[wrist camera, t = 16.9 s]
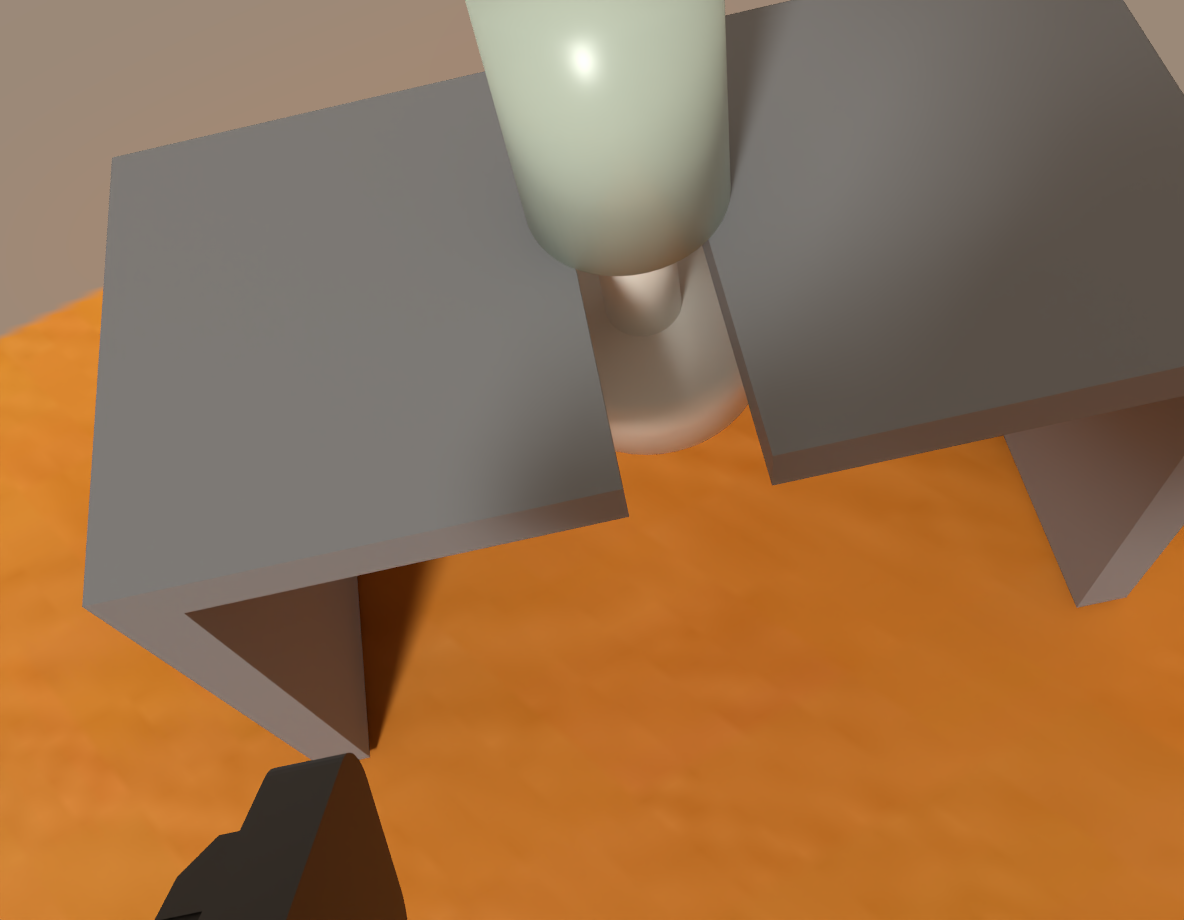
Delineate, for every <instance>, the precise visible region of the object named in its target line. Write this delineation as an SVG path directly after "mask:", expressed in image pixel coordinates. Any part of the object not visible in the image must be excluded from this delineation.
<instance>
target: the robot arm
mask: <svg viewBox="0 0 1184 920" xmlns="http://www.w3.org/2000/svg"><path fill="white" fill-rule="evenodd" d="M155 920H407V915H406V909H405V904H404V899H403V895H402V891H401V888H400V885H399V881H398V878H397V875H396V872H395V868H394V865H393V862H392V859H391V855H390V852H389V849H388V845H387V842H386V839H385V836H384V832H383V829H382V826H381V823H380V819H379V816H378V813H377V810H376V806H375V803H374V800H373V797H372V793H371V790H370V787H369V784H368V780H367V777H366V774H365V771H364V769H363V767H362V765H361V763H360V761H359V759H358V758H357V757H356V755H354V754H353V753H350V752H349V753H345V754H340V755H335V756H330V757H325V758H321V759H316V760H311V761H306V762H301V763H297V764H292V765H287V766H282V767H277V768H273V769H271V770H270V771H269V772H268V773H267V775H266V776H265V778H264V780H263V782H262V785H261V787H260V789H259V791H258V793H257V795H256V797H255V800H254V802H253V804H252V806H251V808H250V810H249V812H248V815H247V817H246V819H245V821H244V823H243V825H242V827H241V830H240V831H238V832H233V833H228V834H223V835H219V836H218V837H217V838H216V839H215V840H214V841H213V842H212V843H211V844H210V845H209V846H208V847H207V848H206V849H205V850H204V851H203V852H202V853H201V854H200V855H199V856H198V857H197V858H196V859H195V860H194V861H193V862H192V863H191V864H190V865H189V866H188V867H187V868H186V869H185V870H184V871H183V872H182V873H181V874H180V875H179V876H178V877H177V878H176V880H175V882H174V884H173V886H172V888H171V890H170V892H169V894H168V895H167V897H166V899H165V901H164V903H163V905H162V907H161V909H160V911H159V913H158V914H157V916H156V918H155Z"/></svg>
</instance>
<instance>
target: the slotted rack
mask: <svg viewBox="0 0 1184 920" xmlns="http://www.w3.org/2000/svg"><path fill="white" fill-rule="evenodd" d="M725 28H726V59H727V90H728V121H729V151H730V182H731V192H730V201H729V204H728V208H727V211H726V213H725V216H724V218H723V220H722V222H721V223H720V225H719V226H718V228H717V230H716V231H715V232H714V233H713V235H712V236H711V237H710V238H709V239H708V240H707V241H706V242H705V243H704V244H703V245H702V247H703V250H704V254H705V257H706V261H707V264H708V267H709V271H710V274H711V278H712V281H713V284H714V288H715V291H716V295H717V298H718V302H719V305H720V308H721V312H722V315H723V319H724V322H725V325H726V329H727V332H728V336H729V339H730V343H731V346H732V349H733V353H734V356H735V360H736V363H737V367H738V370H739V373H740V377H741V380H742V384H743V387H744V390H745V394H746V397H747V401H748V404H749V408H750V411H751V414H752V418H753V421H754V425H755V428H756V431H757V435H758V438H759V442H760V445H761V449H762V452H763V455H764V459H765V462H766V466H767V469H768V473H769V476H770V479H771V483H772V485H777V484H781V483H786V482H790V481H795V480H800V479H804V478H809V477H813V476H818V475H823V474H827V473H832V472H836V471H841V470H846V469H850V468H855V467H859V466H864V465H869V464H873V463H878V462H882V461H887V460H892V459H896V458H901V457H905V456H910V455H915V454H919V453H924V452H928V451H933V450H938V449H942V448H947V447H951V446H956V445H961V444H965V443H970V442H974V441H979V440H984V439H988V438H993V437H997V436H1002V435H1004V437H1005V440H1006V442H1007V445H1008V447H1009V449H1010V452H1011V454H1012V456H1013V459H1014V461H1015V463H1016V466H1017V468H1018V470H1019V473H1020V475H1021V477H1022V480H1023V482H1024V485H1025V487H1026V489H1027V492H1028V494H1029V496H1030V499H1031V501H1032V503H1033V506H1034V508H1035V510H1036V513H1037V515H1038V517H1039V520H1040V522H1041V524H1042V527H1043V529H1044V532H1045V534H1046V536H1047V539H1048V541H1049V543H1050V546H1051V548H1052V550H1053V553H1054V555H1055V557H1056V560H1057V562H1058V564H1059V567H1060V569H1061V571H1062V574H1063V576H1064V579H1065V581H1066V583H1067V586H1068V588H1069V590H1070V593H1071V595H1072V597H1073V600H1074V602H1075V604H1076V607H1082V606H1087V605H1091V604H1096V603H1101V602H1106V601H1110V600H1115V599H1120V598H1124V597H1127V595H1128V594H1129V593H1130V592H1131V590H1132V589H1133V588H1134V587H1135V585H1136V584H1137V583H1138V582H1139V580H1140V579H1141V578H1142V577H1143V575H1144V574H1145V573H1146V572H1147V570H1148V569H1149V568H1150V567H1151V565H1152V564H1153V563H1154V562H1155V560H1156V559H1157V558H1158V557H1159V555H1160V554H1161V553H1162V552H1163V550H1164V549H1165V548H1166V546H1167V545H1168V544H1169V543H1170V541H1171V540H1172V539H1173V538H1174V536H1175V535H1176V534H1177V533H1178V531H1179V530H1180V529H1181V528H1182V526H1183V525H1184V94H1183V93H1182V91H1181V90H1180V89H1179V87H1178V85H1177V84H1176V82H1175V80H1174V79H1173V77H1172V76H1171V74H1170V73H1169V71H1168V70H1167V68H1166V66H1165V65H1164V63H1163V62H1162V60H1161V59H1160V57H1159V56H1158V54H1157V52H1156V51H1155V49H1154V48H1153V46H1152V44H1151V43H1150V41H1149V40H1148V39H1147V37H1146V35H1145V34H1144V32H1143V30H1142V29H1141V27H1140V26H1139V24H1138V23H1137V21H1136V20H1135V18H1134V17H1133V15H1132V13H1131V12H1130V10H1129V9H1128V7H1127V5H1126V4H1125V2H1124V1H1123V0H791V1H787V2H783V3H778V4H774V5H769V6H765V7H761V8H756V9H752V10H748V11H743V12H740V13H735V14H730V15H726V16H725ZM625 517H629V514H628V509H627V504H626V499H625V495H624V490H623V485H622V481H621V476H620V471H619V467H618V462H617V457H616V453H615V448H614V443H613V439H612V434H611V429H610V425H609V420H608V415H607V411H606V406H605V401H604V396H603V392H602V387H601V382H600V378H599V373H598V368H597V364H596V359H595V354H594V350H593V345H592V340H591V336H590V331H589V326H588V322H587V317H586V312H585V308H584V303H583V298H582V294H581V289H580V284H579V279H578V275H577V270H576V269H574V268H571V267H569V266H567V265H565V264H563V263H561V262H559V261H557V260H556V259H555V258H553V257H552V256H550V255H549V254H548V253H547V252H546V251H545V250H544V249H543V248H542V247H541V246H540V245H539V244H538V243H537V241H536V240H535V238H534V237H533V235H532V233H531V231H530V229H529V227H528V224H527V221H526V217H525V214H524V210H523V207H522V203H521V199H520V196H519V192H518V189H517V185H516V181H515V178H514V174H513V170H512V167H511V163H510V160H509V156H508V152H507V149H506V145H505V142H504V138H503V134H502V131H501V127H500V124H499V120H498V116H497V113H496V109H495V106H494V102H493V98H492V95H491V91H490V88H489V84H488V80H487V77H486V73H485V72H481V73H476V74H472V75H467V76H463V77H459V78H455V79H450V80H446V81H441V82H438V83H433V84H429V85H424V86H420V87H416V88H412V89H407V90H403V91H399V92H394V93H390V94H386V95H381V96H377V97H372V98H368V99H364V100H359V101H355V102H351V103H347V104H342V105H338V106H334V107H329V108H325V109H321V110H316V111H312V112H308V113H304V114H299V115H295V116H291V117H287V118H282V119H278V120H274V121H269V122H265V123H260V124H256V125H252V126H247V127H243V128H239V129H234V130H230V131H226V132H222V133H217V134H213V135H209V136H204V137H200V138H196V139H191V140H187V141H183V142H178V143H174V144H170V145H166V146H161V147H157V148H153V149H148V150H144V151H139V152H135V153H131V154H127V155H122V156H118V157H114V158H112V169H111V183H110V198H109V213H108V228H107V244H106V259H105V275H104V289H103V304H102V319H101V334H100V349H99V364H98V379H97V394H96V409H95V424H94V440H93V455H92V470H91V485H90V500H89V515H88V530H87V545H86V560H85V575H84V590H83V605H82V607H83V608H85V609H86V610H88V611H89V612H91V613H92V614H94V615H95V616H97V617H98V618H100V619H101V620H103V621H104V622H106V623H107V624H109V625H110V626H112V627H113V628H115V629H116V630H118V631H119V632H121V633H122V634H124V635H125V636H127V637H128V638H130V639H131V640H133V641H134V642H136V643H137V644H139V645H140V646H142V647H143V648H145V649H146V650H148V651H149V652H151V653H152V654H154V655H155V656H157V657H158V658H160V659H161V660H163V661H164V662H166V663H167V664H169V665H170V666H172V667H173V668H175V669H176V670H178V671H179V672H181V673H182V674H184V675H185V676H187V677H188V678H190V679H191V680H193V681H194V682H196V683H197V684H199V685H200V686H202V687H203V688H205V689H206V690H208V691H209V692H211V693H212V694H214V695H215V696H217V697H218V698H220V699H221V700H223V701H224V702H226V703H227V704H229V705H230V706H232V707H233V708H235V709H236V710H238V711H239V712H241V713H242V714H244V715H245V716H247V717H248V718H250V719H251V720H253V721H254V722H256V723H257V724H259V725H260V726H262V727H263V728H265V729H266V730H268V731H269V732H271V733H272V734H274V735H275V736H277V737H278V738H280V739H281V740H283V741H284V742H286V743H287V744H289V745H290V746H292V747H293V748H295V749H296V750H298V751H299V752H301V753H302V754H304V755H305V756H307V757H308V758H310V759H311V760H316V759H321V758H325V757H330V756H335V755H340V754H345V753H349V752H350V753H353V754H354V755H356V757H357V758H358V759H359V760H360V759H364V758H369V757H370V750H369V736H368V722H367V708H366V694H365V680H364V665H363V651H362V637H361V623H360V609H359V595H358V581H357V576H358V575H363V574H367V573H372V572H376V571H381V570H386V569H390V568H395V567H399V566H404V565H409V564H413V563H418V562H422V561H427V560H432V559H436V558H441V557H445V556H450V555H455V554H459V553H464V552H468V551H473V550H478V549H482V548H487V547H491V546H496V545H501V544H505V543H510V542H514V541H519V540H524V539H528V538H533V537H537V536H542V535H547V534H551V533H556V532H560V531H565V530H570V529H574V528H579V527H583V526H588V525H593V524H597V523H602V522H606V521H611V520H616V519H620V518H625Z"/></svg>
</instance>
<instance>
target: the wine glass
mask: <svg viewBox="0 0 1184 920" xmlns="http://www.w3.org/2000/svg"><path fill="white" fill-rule="evenodd" d="M465 1H466V5H467V8H468V12H469V16H470V19H471V23H472V26H473V29H474V33H475V37H476V41H477V44H478V48H479V51H480V55H481V58H482V62H483V66H484V69H485V73H486V77H487V80H488V84H489V88H490V91H491V95H492V98H493V102H494V106H495V109H496V113H497V116H498V120H499V124H500V127H501V131H502V134H503V138H504V142H505V145H506V149H507V152H508V156H509V160H510V163H511V167H512V170H513V174H514V178H515V181H516V185H517V189H518V192H519V196H520V199H521V203H522V207H523V210H524V214H525V217H526V221H527V224H528V227H529V229H530V231H531V233H532V235H533V237H534V238H535V240H536V241H537V243H538V244H539V245H540V246H541V247H542V248H543V249H544V250H545V251H546V252H547V253H548V254H549V255H550V256H552V257H553V258H555V259H556V260H557V261H559V262H561V263H563V264H565V265H567V266H569V267H571V268H574V269H576V270H577V275H578V279H579V284H580V289H581V294H582V298H583V303H584V308H585V312H586V317H587V322H588V326H589V331H590V336H591V340H592V345H593V350H594V354H595V359H596V364H597V368H598V373H599V378H600V382H601V387H602V392H603V396H604V401H605V406H606V411H607V415H608V420H609V425H610V429H611V434H612V439H613V443H614V448H615V451H617V452H623V453H629V454H642V455H651V454H664V453H669V452H675V451H679V450H682V449H686V448H689V447H692V446H694V445H697V444H699V443H701V442H704V441H706V440H708V439H709V438H711V437H713V436H714V435H716V434H718V433H719V432H721V431H722V430H723V429H725V428H726V427H727V426H729V425H730V424H731V423H732V422H733V421H734V420H735V419H736V418H737V417H738V416H739V415H740V414H741V413H742V411H743V410H744V409H745V407H746V406H747V405H748V401H747V397H746V394H745V390H744V387H743V384H742V380H741V377H740V373H739V370H738V367H737V363H736V360H735V356H734V353H733V349H732V346H731V343H730V339H729V336H728V332H727V329H726V325H725V322H724V319H723V315H722V312H721V308H720V305H719V302H718V298H717V295H716V291H715V288H714V284H713V281H712V278H711V274H710V271H709V267H708V264H707V261H706V257H705V254H704V250H703V247H702V245H703V244H704V243H705V242H706V241H707V240H708V239H709V238H710V237H711V236H712V235H713V233H714V232H715V231H716V230H717V228H718V226H719V225H720V223H721V222H722V220H723V218H724V216H725V213H726V211H727V208H728V204H729V201H730V192H731V182H730V151H729V121H728V90H727V59H726V28H725V0H465Z"/></svg>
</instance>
